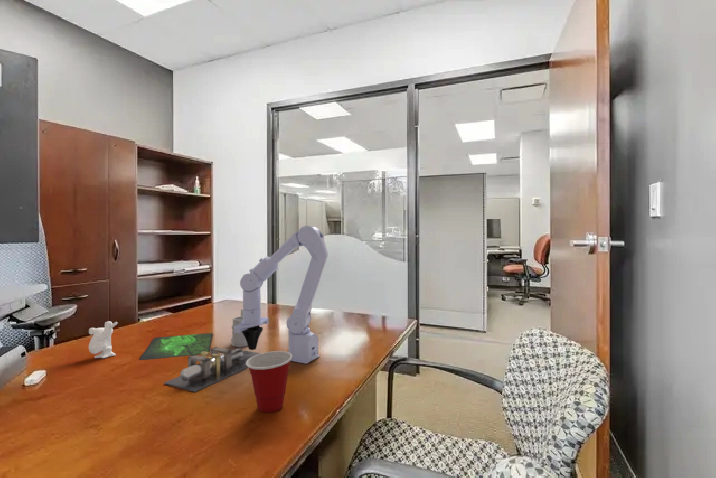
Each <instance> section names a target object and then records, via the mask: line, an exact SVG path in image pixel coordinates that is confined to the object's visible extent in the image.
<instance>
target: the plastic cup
mask: <svg viewBox="0 0 716 478" xmlns="http://www.w3.org/2000/svg"><path fill="white" fill-rule="evenodd" d="M291 359H292V354H291V353H289V352H288V351H286V350H285V351H284V350H274V351H266V352H261V354H258V355H255V356H253V357H251V358H249V359H248V360H247V361H246V365H247V367H248V368H247V369H248V370H249V372H250V376H251V380H252V385H253V392H254V396H255V400H256V406H257V409H258V411H259V412H262V413H265V414H266V413H273V412H274V413H275V412H277V411H279V410H281V409H282V408H283V405H284V401H285V394H286V391H287V382H288V375H289V371H290V366H291V365H290V364H291V362H292V361H291Z"/></svg>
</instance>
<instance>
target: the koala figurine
mask: <svg viewBox="0 0 716 478" xmlns="http://www.w3.org/2000/svg"><path fill="white" fill-rule="evenodd" d="M117 324H118V322H117V321H115V322H114V323H113V322H112V321H110V320H108V321H105V322H104V327H97V328H96V327H90V328H89V329H88V334H89V335H92V337H91V338H90V341H89V344H88V351H89V352H90V354H92V355H94V359H106V358H109V357H113V356H116V355H117V354H116V353H115V352H113V351H112V348H113V347H112V334H113V333H114V329H113V328H114V327H115V326H117Z"/></svg>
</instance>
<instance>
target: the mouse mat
mask: <svg viewBox="0 0 716 478" xmlns="http://www.w3.org/2000/svg"><path fill="white" fill-rule="evenodd" d="M213 336H214V333H212V332H211V333H210V332H209V333H208V332H207V333H206V332H205V333H191V334H183V335H182V334H181V335H167V336H157V337H153V339H152V341H151V342H150V343H149V344H148V346H147V347H146V348H145V350H144V352H142V354H141V356H140V357H139V358H138V360H140V361H147V360H148V361H149V360H150V361H151V360H159V359H168V358H179V357H189V356H192V355H198V356H201V352H204V351H205V352H209V353H211V350H210V349H212V348H211V345H212V341H213Z"/></svg>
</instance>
